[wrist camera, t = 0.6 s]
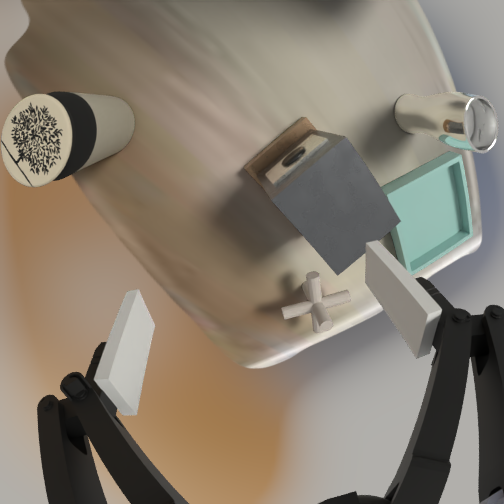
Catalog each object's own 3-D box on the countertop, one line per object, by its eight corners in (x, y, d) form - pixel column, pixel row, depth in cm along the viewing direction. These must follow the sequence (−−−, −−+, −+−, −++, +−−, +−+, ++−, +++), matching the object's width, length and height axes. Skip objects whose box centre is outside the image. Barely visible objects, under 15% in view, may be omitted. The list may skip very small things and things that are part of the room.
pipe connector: (338, 302, 49) (361, 341, 40) (281, 317, 49) (294, 360, 40) (334, 250, 45) (361, 285, 36) (270, 266, 45) (284, 306, 36)
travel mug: (118, 84, 31) (48, 70, 15) (146, 134, 34) (90, 154, 18) (71, 118, 32) (-14, 133, 16) (97, 166, 35) (24, 208, 19)
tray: (377, 189, 41) (386, 194, 38) (449, 151, 39) (461, 154, 36) (400, 268, 48) (408, 277, 45) (463, 229, 46) (473, 235, 43)
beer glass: (427, 93, 35) (499, 99, 21) (427, 137, 38) (498, 157, 25) (390, 88, 34) (462, 88, 21) (391, 135, 38) (461, 153, 24)
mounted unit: (243, 166, 38) (255, 192, 26) (302, 117, 36) (340, 120, 24) (305, 234, 43) (336, 281, 31) (357, 189, 41) (406, 221, 29)
